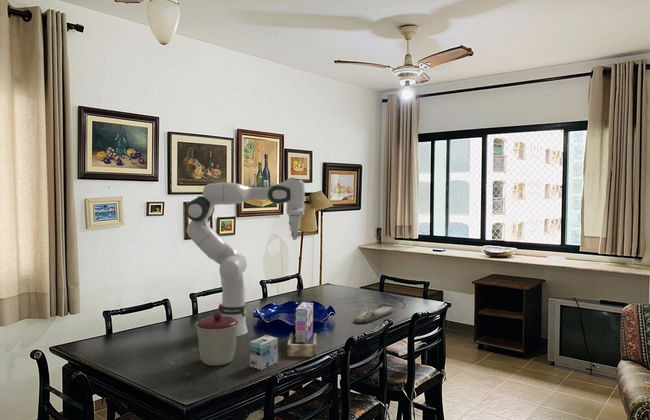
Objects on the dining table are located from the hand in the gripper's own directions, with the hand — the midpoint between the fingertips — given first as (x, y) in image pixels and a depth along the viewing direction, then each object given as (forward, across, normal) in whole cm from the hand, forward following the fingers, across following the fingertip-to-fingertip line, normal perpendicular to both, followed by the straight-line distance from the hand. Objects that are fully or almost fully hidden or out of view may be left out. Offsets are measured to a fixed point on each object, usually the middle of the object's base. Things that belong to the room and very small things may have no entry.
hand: (295, 238), depth 237 cm
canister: (+48, +39, -30) cm, 69 cm away
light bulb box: (+48, +42, -10) cm, 65 cm away
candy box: (+48, +8, +5) cm, 49 cm away
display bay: (+48, +22, +5) cm, 53 cm away
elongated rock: (+48, -32, +44) cm, 73 cm away
